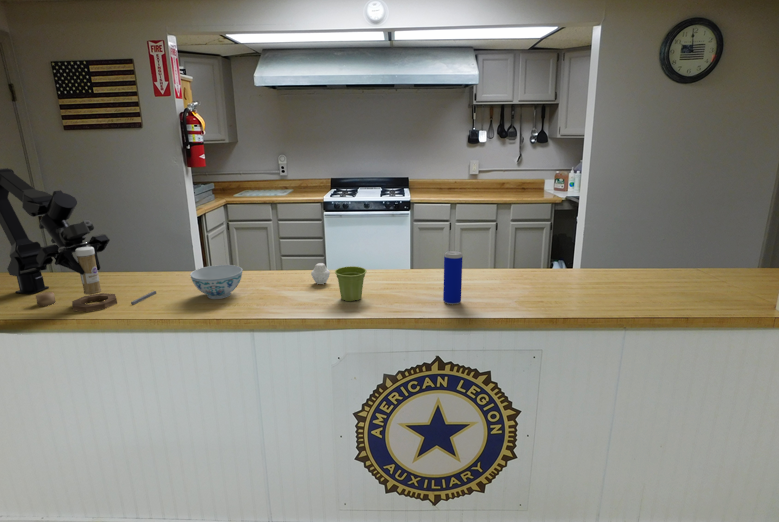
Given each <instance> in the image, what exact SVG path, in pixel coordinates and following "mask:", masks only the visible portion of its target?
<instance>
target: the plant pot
mask: <svg viewBox="0 0 779 522" xmlns="http://www.w3.org/2000/svg"><path fill="white" fill-rule="evenodd" d="M334 273H335V275H336V278H337V281H338V287H339V293H340V298H341V300H342V301H344V300H345V301H346V302H352V301H355V300H357V301H359V299H360V298H361V299H362V297H363V295H362V294H363V288H364V287H363V286H364V279H365V276H366V273H367V268H364V267H361V266H354V265H352V266H342V267H339V268H337V269H335V270H334ZM361 299H360V300H361Z"/></svg>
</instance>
